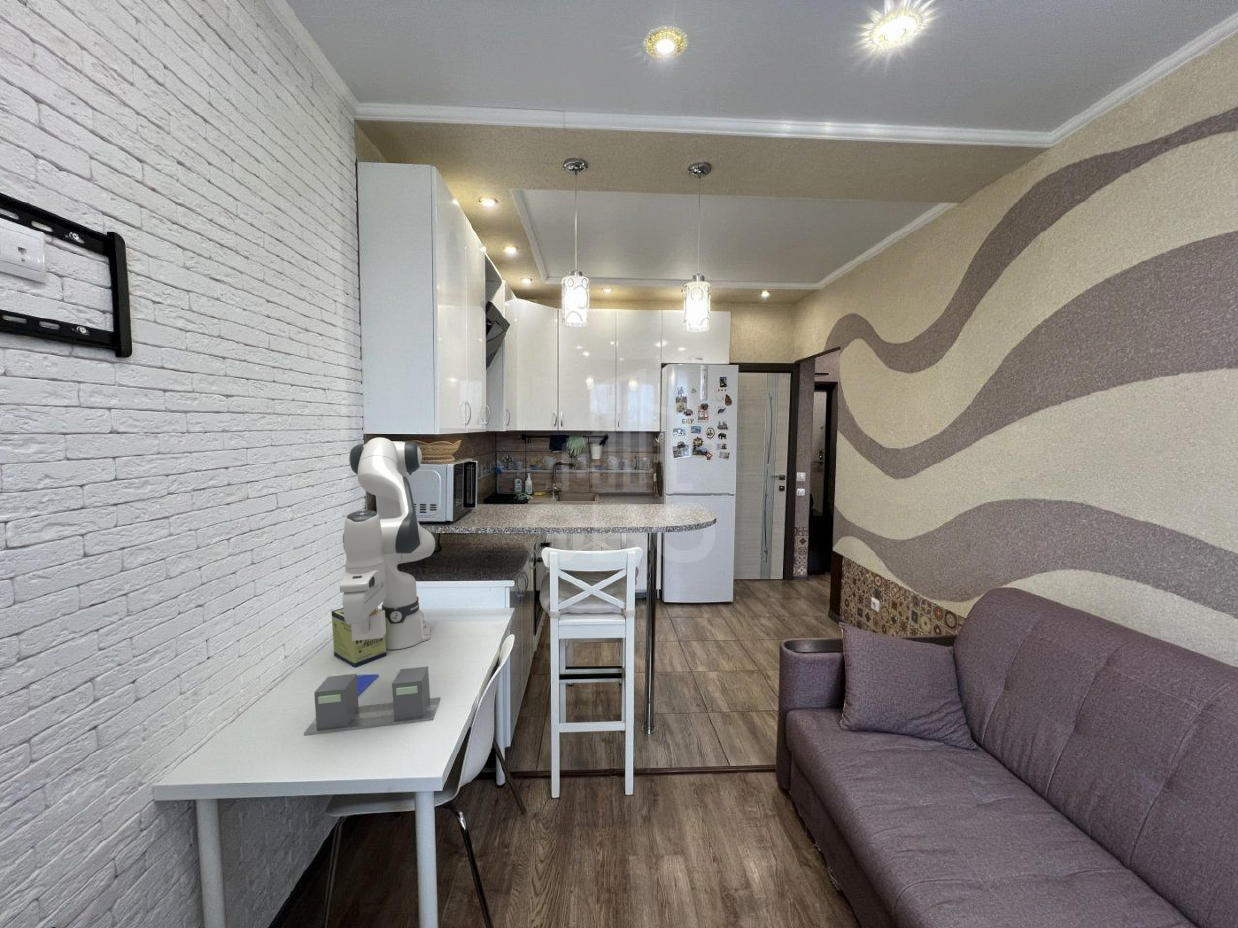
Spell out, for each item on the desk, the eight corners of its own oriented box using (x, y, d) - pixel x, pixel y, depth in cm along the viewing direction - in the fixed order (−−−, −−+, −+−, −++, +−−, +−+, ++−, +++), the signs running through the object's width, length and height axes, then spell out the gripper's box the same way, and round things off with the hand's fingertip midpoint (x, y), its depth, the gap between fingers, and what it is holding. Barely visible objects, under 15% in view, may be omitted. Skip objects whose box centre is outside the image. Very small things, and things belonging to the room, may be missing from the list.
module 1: (330, 713, 129) (327, 676, 128) (358, 710, 130) (356, 673, 129) (316, 732, 120) (313, 693, 120) (346, 729, 122) (344, 689, 121)
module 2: (402, 705, 132) (400, 669, 131) (430, 702, 133) (428, 666, 132) (393, 723, 123) (391, 684, 123) (422, 719, 125) (420, 681, 124)
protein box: (355, 668, 155) (352, 620, 154) (333, 656, 164) (330, 610, 163) (387, 655, 163) (384, 609, 162) (364, 644, 172) (362, 601, 171)
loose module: (357, 635, 127) (355, 611, 127) (386, 632, 128) (384, 609, 128) (352, 640, 123) (350, 616, 123) (381, 638, 125) (380, 614, 124)
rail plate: (321, 712, 129) (321, 710, 129) (440, 699, 134) (440, 697, 134) (303, 735, 120) (303, 732, 120) (432, 719, 124) (432, 717, 124)
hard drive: (352, 674, 148) (327, 696, 136) (379, 673, 148) (356, 695, 136) (352, 679, 148) (327, 702, 136) (379, 678, 148) (357, 701, 136)
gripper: (366, 565, 135) (369, 615, 135) (336, 587, 114) (340, 645, 115) (390, 564, 136) (393, 613, 136) (365, 585, 115) (368, 643, 116)
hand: (368, 628), depth 126 cm, fingers closed on loose module, 3 cm apart
